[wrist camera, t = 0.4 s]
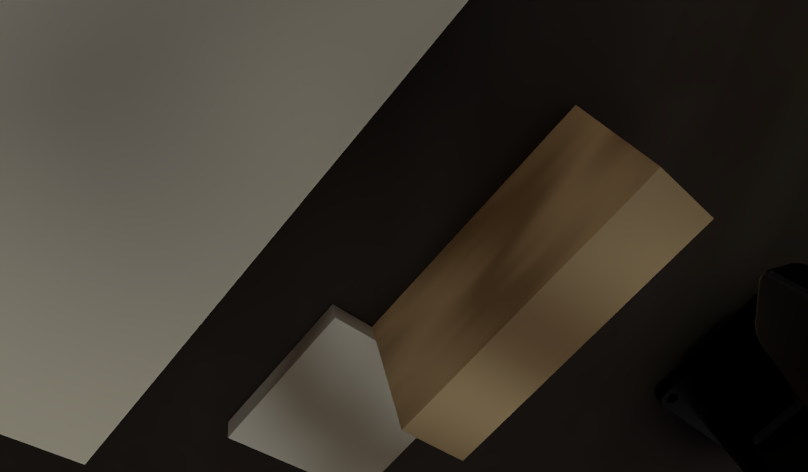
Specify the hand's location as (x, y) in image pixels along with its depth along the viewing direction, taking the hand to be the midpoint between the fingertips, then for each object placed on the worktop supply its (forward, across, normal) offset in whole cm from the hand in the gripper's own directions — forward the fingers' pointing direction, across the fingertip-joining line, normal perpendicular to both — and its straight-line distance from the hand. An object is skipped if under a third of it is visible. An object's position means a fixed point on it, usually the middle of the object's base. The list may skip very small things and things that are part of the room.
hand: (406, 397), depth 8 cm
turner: (+13, -3, +8) cm, 16 cm away
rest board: (+13, +5, 0) cm, 14 cm away
